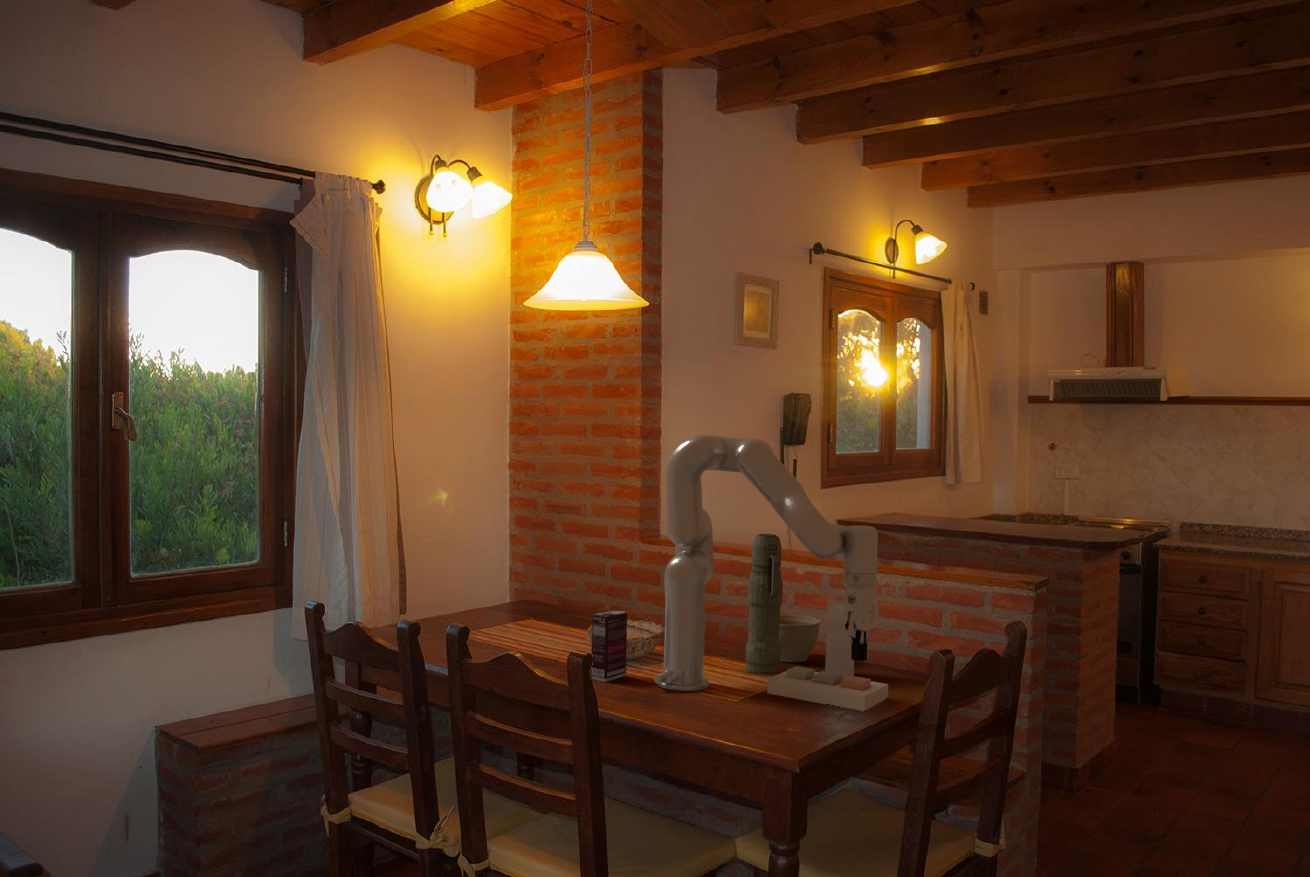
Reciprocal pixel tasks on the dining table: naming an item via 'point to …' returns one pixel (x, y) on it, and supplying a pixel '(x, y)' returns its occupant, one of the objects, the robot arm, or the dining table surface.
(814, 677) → the grey key
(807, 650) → the planter bowl
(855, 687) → the terracotta key
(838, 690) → the keypad
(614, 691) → the dining table surface
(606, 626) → the supplement box
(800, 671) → the sage key
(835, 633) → the milk carton
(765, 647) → the thermos
